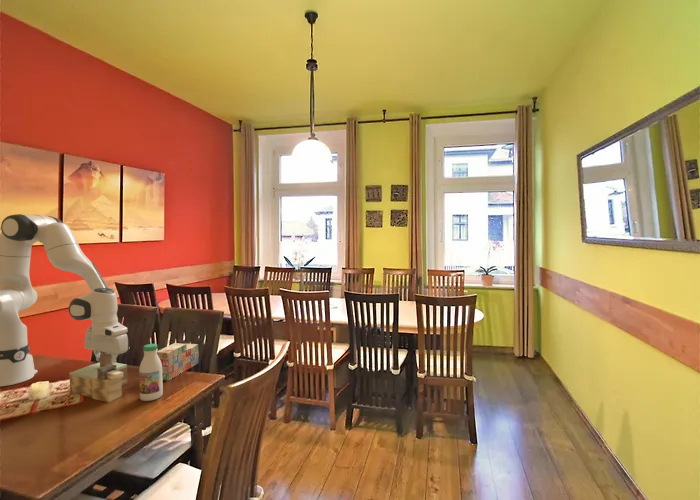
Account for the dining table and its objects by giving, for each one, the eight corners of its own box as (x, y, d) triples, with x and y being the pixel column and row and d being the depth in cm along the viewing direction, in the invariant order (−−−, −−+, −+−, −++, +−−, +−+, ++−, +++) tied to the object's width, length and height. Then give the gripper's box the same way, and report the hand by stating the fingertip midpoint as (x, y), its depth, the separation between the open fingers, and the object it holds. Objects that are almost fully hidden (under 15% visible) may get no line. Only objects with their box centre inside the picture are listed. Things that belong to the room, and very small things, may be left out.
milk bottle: (146, 392, 143) (145, 342, 142) (166, 392, 143) (165, 342, 142) (135, 401, 136) (134, 348, 135) (156, 401, 136) (155, 348, 135)
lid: (69, 375, 142) (69, 359, 142) (104, 363, 155) (103, 349, 155) (93, 379, 138) (93, 364, 138) (127, 366, 151) (126, 352, 151)
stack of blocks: (187, 362, 176) (187, 337, 176) (199, 363, 175) (198, 337, 175) (155, 379, 155) (155, 351, 155) (168, 381, 154) (168, 352, 154)
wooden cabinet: (68, 393, 142) (67, 363, 141) (104, 379, 156) (103, 351, 155) (108, 402, 135) (108, 370, 134) (143, 386, 149) (142, 357, 148)
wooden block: (98, 376, 138) (98, 371, 138) (105, 374, 140) (105, 368, 140) (116, 380, 135) (116, 374, 135) (123, 377, 138) (123, 372, 137)
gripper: (79, 327, 149) (80, 361, 150) (116, 332, 142) (117, 367, 143) (94, 324, 155) (95, 356, 156) (130, 328, 148) (131, 362, 149)
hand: (106, 361), depth 149 cm, fingers open, 6 cm apart
